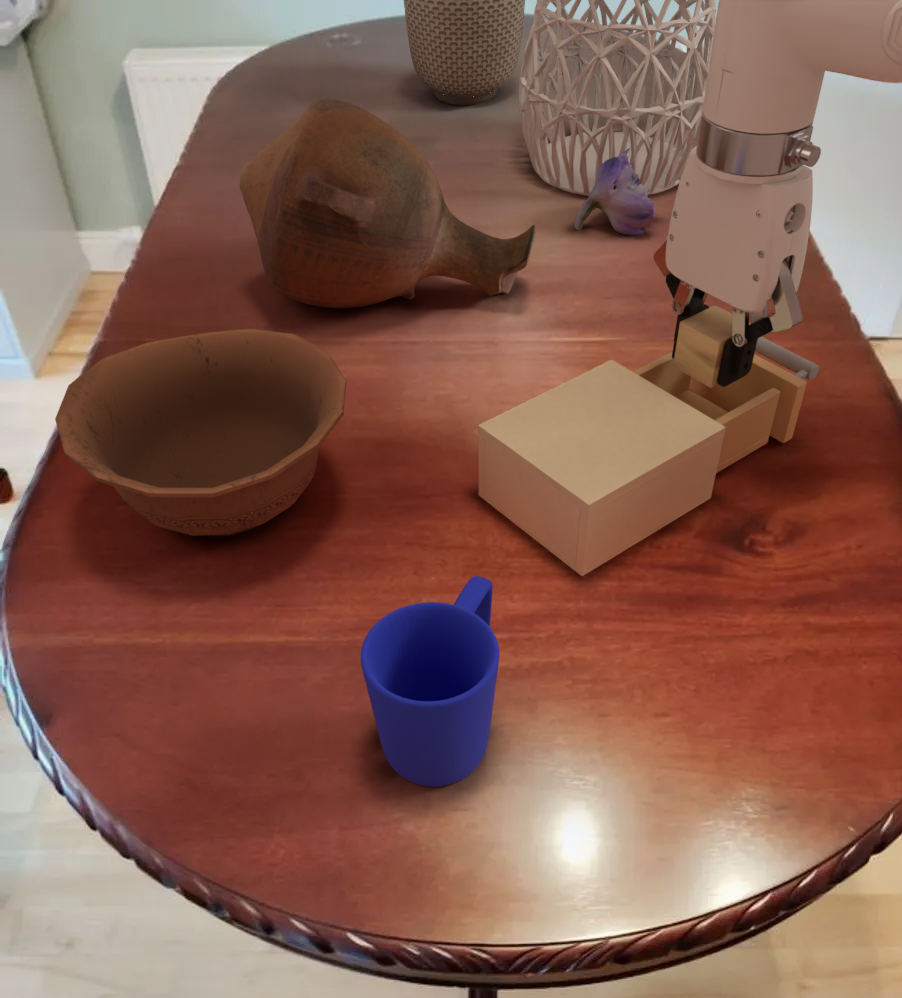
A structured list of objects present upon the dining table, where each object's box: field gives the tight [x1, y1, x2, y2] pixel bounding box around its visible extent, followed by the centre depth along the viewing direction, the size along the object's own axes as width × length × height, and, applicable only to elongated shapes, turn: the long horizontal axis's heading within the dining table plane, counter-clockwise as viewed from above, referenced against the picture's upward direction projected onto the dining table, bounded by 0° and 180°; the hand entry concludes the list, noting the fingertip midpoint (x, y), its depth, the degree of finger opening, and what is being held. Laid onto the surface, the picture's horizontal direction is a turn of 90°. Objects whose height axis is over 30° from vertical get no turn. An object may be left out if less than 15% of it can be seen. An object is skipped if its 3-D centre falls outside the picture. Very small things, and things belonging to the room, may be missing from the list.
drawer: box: [631, 336, 820, 474], centre depth 87 cm, size 19×11×6 cm, turn 128°
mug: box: [360, 575, 500, 788], centre depth 64 cm, size 8×12×10 cm
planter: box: [403, 0, 526, 106], centre depth 143 cm, size 17×17×16 cm
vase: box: [518, 0, 717, 197], centre depth 119 cm, size 24×24×30 cm
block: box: [673, 304, 751, 388], centre depth 82 cm, size 4×4×4 cm
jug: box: [239, 98, 537, 309], centre depth 101 cm, size 20×20×30 cm
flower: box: [573, 148, 656, 236], centre depth 115 cm, size 9×9×10 cm
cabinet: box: [477, 359, 726, 577], centre depth 81 cm, size 15×13×8 cm
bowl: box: [54, 328, 347, 537], centre depth 80 cm, size 22×22×11 cm
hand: (709, 364), depth 83 cm, fingers closed on block, 4 cm apart
